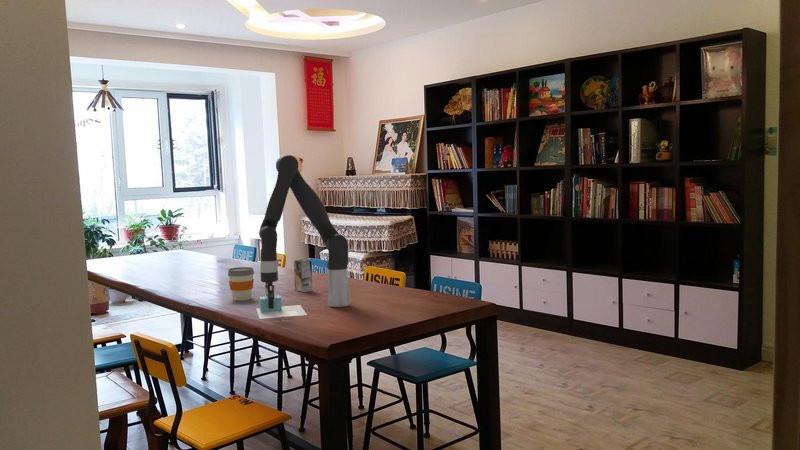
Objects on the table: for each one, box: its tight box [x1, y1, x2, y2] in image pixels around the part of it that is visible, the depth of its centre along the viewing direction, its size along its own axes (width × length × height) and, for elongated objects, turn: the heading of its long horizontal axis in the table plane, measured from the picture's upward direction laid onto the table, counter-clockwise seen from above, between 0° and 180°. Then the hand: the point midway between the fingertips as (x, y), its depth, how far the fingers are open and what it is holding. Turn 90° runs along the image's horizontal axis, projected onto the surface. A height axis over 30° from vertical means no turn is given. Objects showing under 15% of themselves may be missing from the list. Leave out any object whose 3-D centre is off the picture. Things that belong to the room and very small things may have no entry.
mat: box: [255, 304, 308, 320], centre depth 270 cm, size 20×22×1 cm
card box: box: [259, 294, 282, 313], centre depth 272 cm, size 9×6×6 cm, turn 107°
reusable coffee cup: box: [227, 266, 255, 301], centre depth 304 cm, size 12×13×15 cm
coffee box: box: [293, 258, 313, 293], centre depth 323 cm, size 9×6×16 cm
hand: (270, 306), depth 272 cm, fingers open, 8 cm apart
